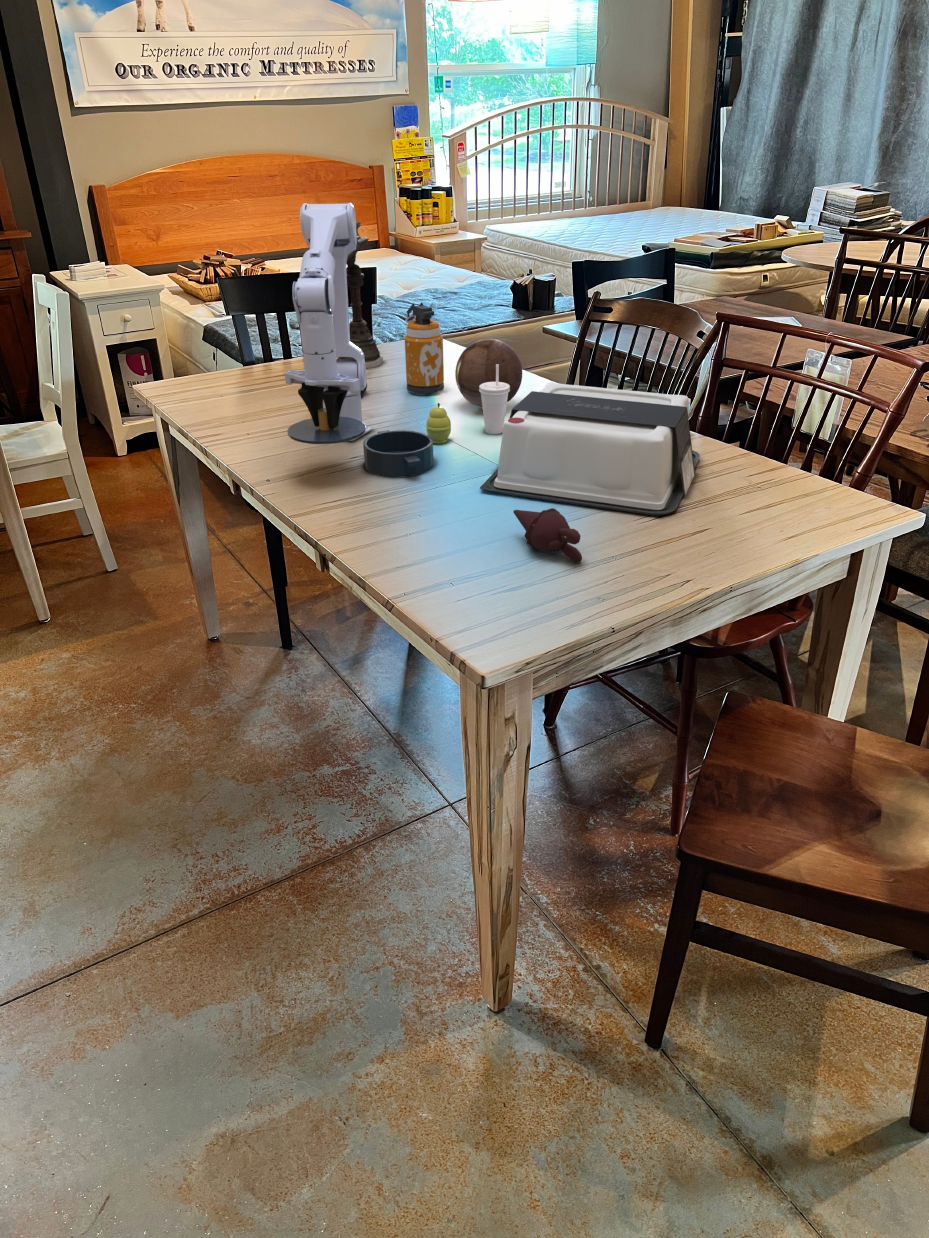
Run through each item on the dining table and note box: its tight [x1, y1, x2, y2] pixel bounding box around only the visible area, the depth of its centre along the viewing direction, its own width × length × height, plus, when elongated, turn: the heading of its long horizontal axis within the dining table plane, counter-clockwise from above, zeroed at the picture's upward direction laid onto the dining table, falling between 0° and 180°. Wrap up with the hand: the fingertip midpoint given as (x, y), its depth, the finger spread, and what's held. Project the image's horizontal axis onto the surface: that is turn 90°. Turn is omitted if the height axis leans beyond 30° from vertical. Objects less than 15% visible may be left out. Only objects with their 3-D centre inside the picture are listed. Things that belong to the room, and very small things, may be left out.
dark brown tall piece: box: [337, 221, 384, 369], centre depth 221 cm, size 17×13×35 cm
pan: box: [362, 429, 434, 478], centre depth 166 cm, size 13×19×4 cm
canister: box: [404, 302, 445, 396], centre depth 205 cm, size 9×11×20 cm
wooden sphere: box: [454, 338, 523, 409], centre depth 194 cm, size 15×15×15 cm
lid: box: [286, 408, 367, 445], centre depth 158 cm, size 14×14×4 cm
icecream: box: [512, 507, 583, 564], centre depth 133 cm, size 7×7×15 cm
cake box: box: [479, 382, 701, 516], centre depth 159 cm, size 35×33×12 cm
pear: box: [425, 402, 452, 445], centre depth 177 cm, size 5×5×8 cm
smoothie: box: [479, 364, 510, 435], centre depth 180 cm, size 6×6×14 cm
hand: (326, 426), depth 158 cm, fingers closed on lid, 2 cm apart
